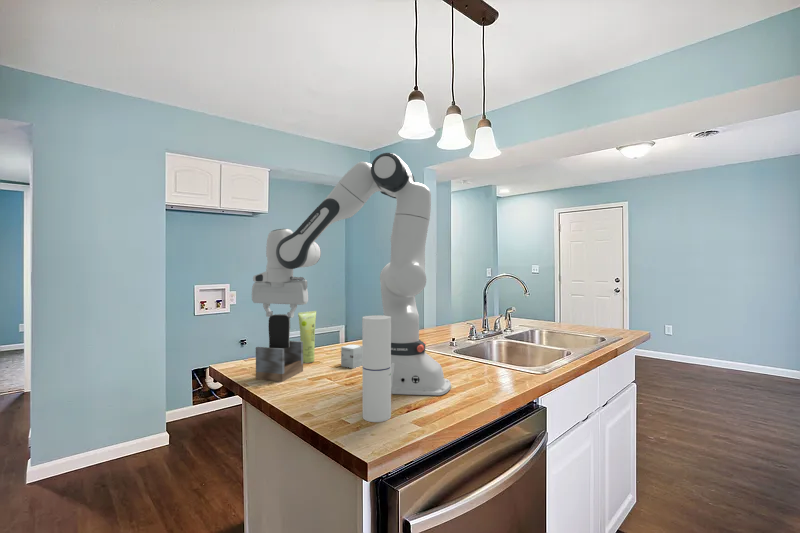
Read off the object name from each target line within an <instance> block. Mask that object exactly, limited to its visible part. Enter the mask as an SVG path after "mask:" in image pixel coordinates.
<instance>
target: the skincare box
mask: <svg viewBox="0 0 800 533" xmlns="http://www.w3.org/2000/svg"><path fill="white" fill-rule="evenodd" d="M340 351H341V352H340V366H341V367H342V368H343V367H344V368H348V367H349V368H348V369H352V368H354V369H356V367H357V368H359V367H361V366H362V367H363V365H362V345H359V344H347V345H344V346H343V345H342V346H341V347H340Z"/></svg>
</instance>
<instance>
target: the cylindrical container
mask: <svg viewBox="0 0 800 533" xmlns="http://www.w3.org/2000/svg"><path fill="white" fill-rule="evenodd" d="M361 318H362V319H361V320H362V323H361V324H362V325H361V326H362V327H361V330H362V332H361V333H362V334H361V336H362V338H361V339H362V342H361V346H362V418H363V420H365V421H367V422H370V423H383V422H386V421H388V420H390V419H391V417H392V394H391V317H390V316H384V314H383V315H381V314H378V315H377V314H376V315H375V314H373V315H364V316H362V317H361Z"/></svg>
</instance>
